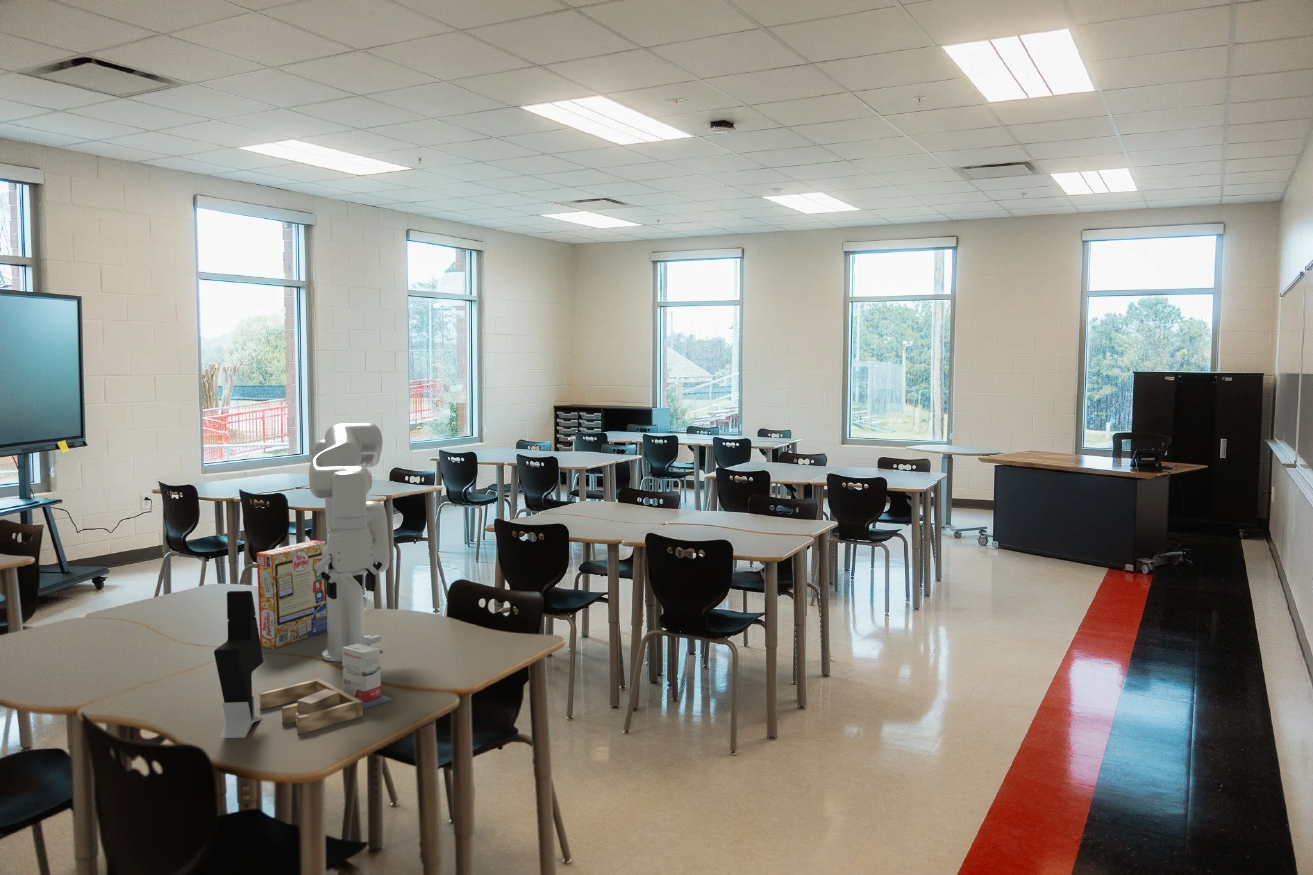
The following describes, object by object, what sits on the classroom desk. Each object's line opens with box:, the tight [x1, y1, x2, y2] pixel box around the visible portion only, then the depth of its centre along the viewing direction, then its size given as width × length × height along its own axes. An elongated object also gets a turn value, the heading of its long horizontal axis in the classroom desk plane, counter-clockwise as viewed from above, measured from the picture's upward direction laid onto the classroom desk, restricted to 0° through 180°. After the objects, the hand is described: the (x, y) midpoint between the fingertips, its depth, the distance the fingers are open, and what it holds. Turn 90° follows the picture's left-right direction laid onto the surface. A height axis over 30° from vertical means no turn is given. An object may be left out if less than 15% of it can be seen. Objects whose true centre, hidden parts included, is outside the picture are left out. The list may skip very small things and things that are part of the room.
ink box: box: [341, 644, 382, 702], centre depth 216 cm, size 9×5×12 cm, turn 55°
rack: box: [259, 677, 364, 735], centre depth 208 cm, size 14×22×4 cm, turn 45°
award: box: [213, 590, 264, 739], centre depth 198 cm, size 15×5×30 cm, turn 5°
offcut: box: [296, 689, 340, 715], centre depth 203 cm, size 8×4×3 cm, turn 152°
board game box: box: [256, 539, 327, 650], centre depth 264 cm, size 20×6×27 cm, turn 154°
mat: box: [362, 693, 391, 710], centre depth 217 cm, size 8×12×1 cm, turn 45°
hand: (351, 594), depth 217 cm, fingers open, 9 cm apart
